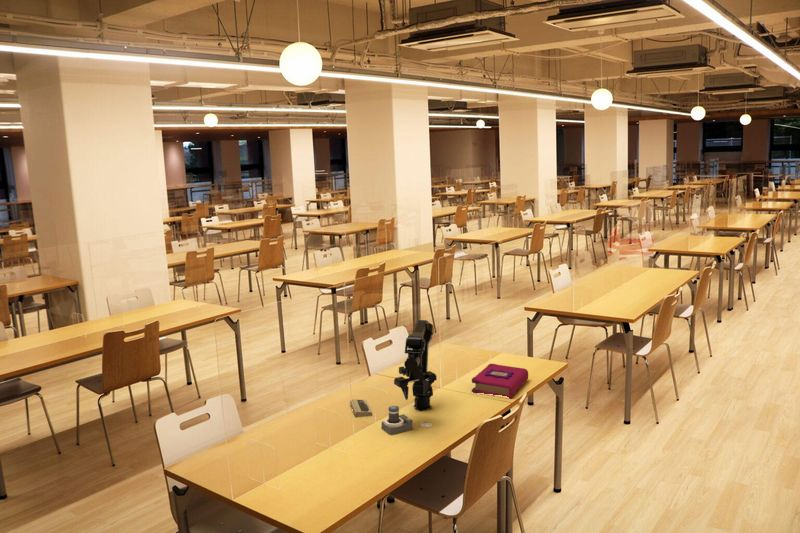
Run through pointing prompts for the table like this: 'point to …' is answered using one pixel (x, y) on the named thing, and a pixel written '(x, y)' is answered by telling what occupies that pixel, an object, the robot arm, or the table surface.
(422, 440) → the table surface
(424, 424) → the pale white disc
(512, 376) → the book
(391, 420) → the lens
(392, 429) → the camera body
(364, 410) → the computer
